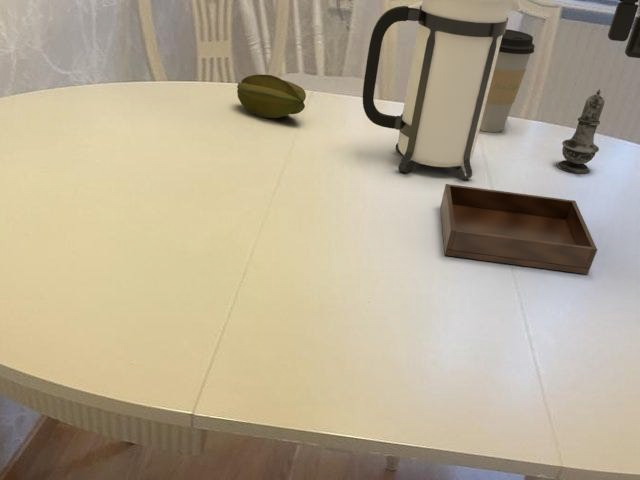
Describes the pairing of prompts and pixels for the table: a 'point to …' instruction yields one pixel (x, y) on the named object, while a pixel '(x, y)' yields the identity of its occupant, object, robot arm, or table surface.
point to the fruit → (270, 96)
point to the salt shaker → (583, 138)
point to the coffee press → (442, 79)
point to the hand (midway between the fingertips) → (625, 48)
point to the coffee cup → (506, 78)
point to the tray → (515, 229)
